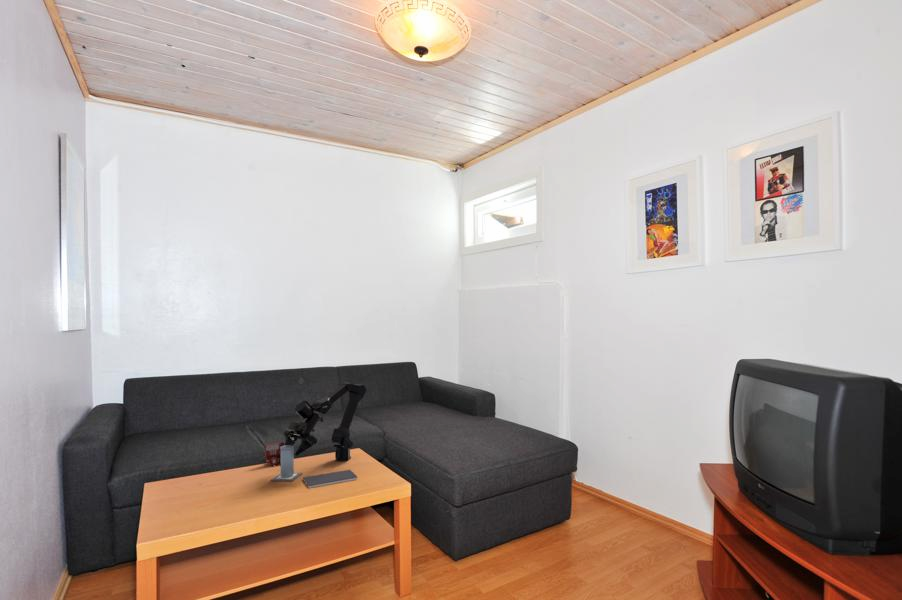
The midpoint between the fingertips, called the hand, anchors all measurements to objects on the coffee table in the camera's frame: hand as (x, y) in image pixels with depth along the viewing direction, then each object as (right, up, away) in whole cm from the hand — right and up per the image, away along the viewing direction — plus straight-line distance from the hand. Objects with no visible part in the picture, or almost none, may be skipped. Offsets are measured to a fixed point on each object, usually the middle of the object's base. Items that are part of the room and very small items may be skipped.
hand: (289, 453), depth 210 cm
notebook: (+20, -10, -6) cm, 23 cm away
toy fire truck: (-13, -12, +21) cm, 27 cm away
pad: (-1, -10, -2) cm, 10 cm away
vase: (-1, -10, -2) cm, 10 cm away
